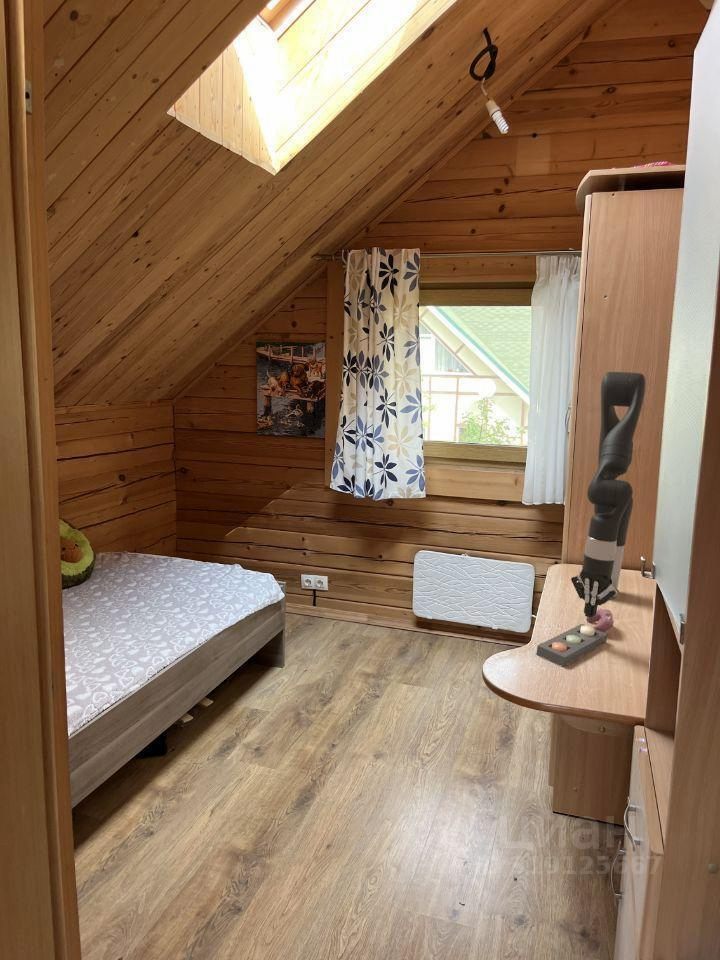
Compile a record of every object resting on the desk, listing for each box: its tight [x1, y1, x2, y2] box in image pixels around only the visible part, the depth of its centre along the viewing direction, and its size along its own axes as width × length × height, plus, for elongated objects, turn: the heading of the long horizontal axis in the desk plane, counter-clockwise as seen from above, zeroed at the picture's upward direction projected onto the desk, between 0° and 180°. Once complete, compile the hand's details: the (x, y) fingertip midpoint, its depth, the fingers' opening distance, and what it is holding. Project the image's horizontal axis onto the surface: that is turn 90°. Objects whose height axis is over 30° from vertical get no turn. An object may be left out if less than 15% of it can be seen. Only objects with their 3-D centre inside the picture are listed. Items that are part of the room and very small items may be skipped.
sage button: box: [566, 635, 581, 645], centre depth 177 cm, size 4×4×2 cm
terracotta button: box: [552, 642, 567, 652], centre depth 173 cm, size 4×4×2 cm
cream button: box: [580, 625, 595, 638], centre depth 182 cm, size 4×4×2 cm
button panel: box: [535, 623, 608, 667], centre depth 178 cm, size 22×8×2 cm, turn 133°
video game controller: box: [585, 607, 615, 633], centre depth 190 cm, size 10×5×7 cm
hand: (589, 616), depth 181 cm, fingers closed
